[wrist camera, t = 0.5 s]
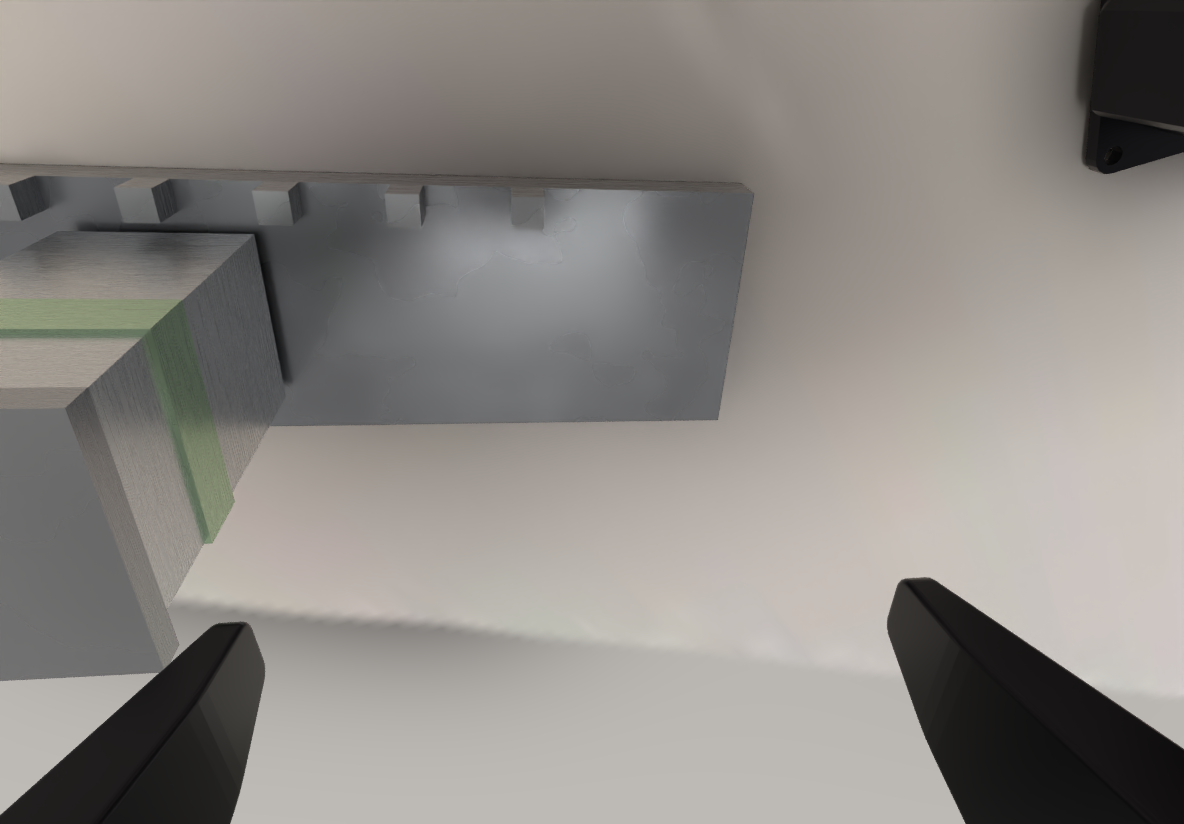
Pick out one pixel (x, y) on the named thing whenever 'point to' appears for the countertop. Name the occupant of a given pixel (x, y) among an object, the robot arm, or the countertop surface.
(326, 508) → the countertop surface
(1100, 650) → the countertop surface
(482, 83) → the countertop surface
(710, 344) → the track
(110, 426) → the column
